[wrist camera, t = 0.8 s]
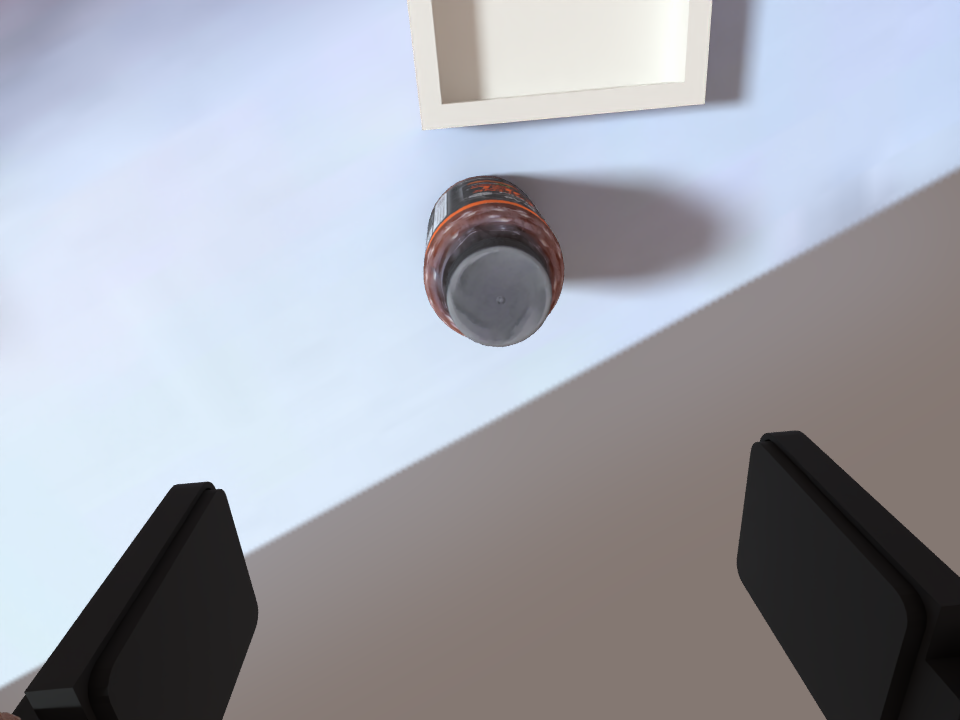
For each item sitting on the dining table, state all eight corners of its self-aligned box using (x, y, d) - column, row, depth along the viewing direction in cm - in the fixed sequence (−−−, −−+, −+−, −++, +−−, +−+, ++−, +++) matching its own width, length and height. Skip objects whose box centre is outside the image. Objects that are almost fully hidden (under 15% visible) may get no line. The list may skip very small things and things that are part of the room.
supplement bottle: (550, 188, 32) (604, 241, 21) (520, 292, 34) (555, 385, 24) (440, 160, 31) (440, 202, 20) (416, 269, 33) (407, 356, 23)
